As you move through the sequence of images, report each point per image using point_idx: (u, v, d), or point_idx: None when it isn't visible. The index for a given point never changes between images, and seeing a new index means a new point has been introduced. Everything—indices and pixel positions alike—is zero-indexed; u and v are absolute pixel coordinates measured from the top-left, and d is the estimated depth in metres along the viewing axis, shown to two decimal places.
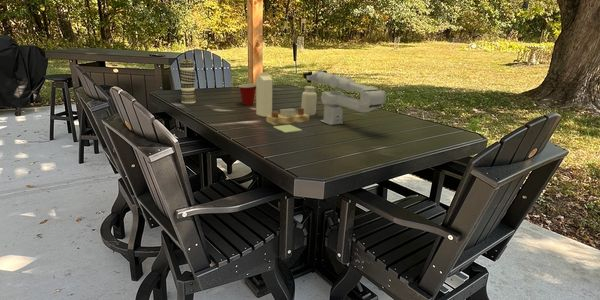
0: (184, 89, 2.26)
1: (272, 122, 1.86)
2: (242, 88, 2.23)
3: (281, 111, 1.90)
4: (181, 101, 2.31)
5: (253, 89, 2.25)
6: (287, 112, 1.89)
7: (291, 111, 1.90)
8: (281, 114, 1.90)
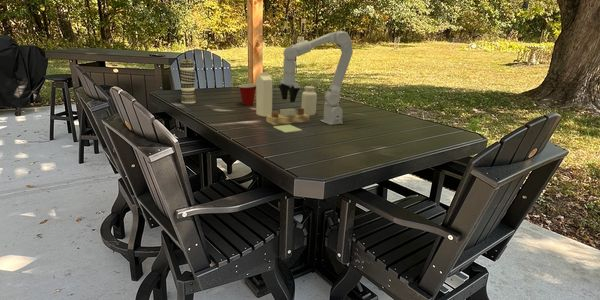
0: (184, 89, 2.26)
1: (272, 122, 1.86)
2: (242, 88, 2.23)
3: (281, 111, 1.90)
4: (181, 101, 2.31)
5: (253, 89, 2.25)
6: (287, 112, 1.89)
7: (291, 111, 1.90)
8: (281, 114, 1.90)
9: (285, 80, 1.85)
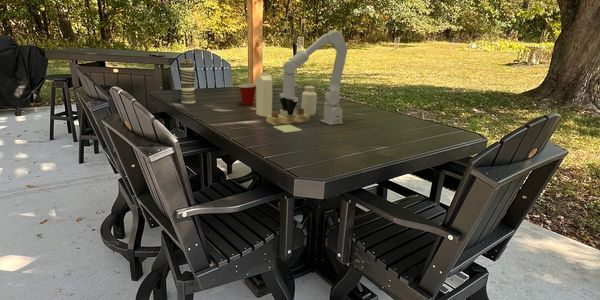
0: (184, 89, 2.26)
1: (272, 122, 1.86)
2: (242, 88, 2.23)
3: (281, 111, 1.90)
4: (181, 101, 2.31)
5: (253, 89, 2.25)
6: (287, 112, 1.89)
7: None
8: (281, 114, 1.90)
9: (285, 94, 1.86)
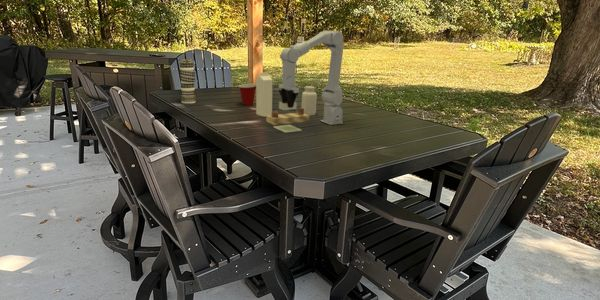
0: (184, 89, 2.26)
1: (272, 122, 1.86)
2: (242, 88, 2.23)
3: (280, 104, 1.74)
4: (181, 101, 2.31)
5: (253, 89, 2.25)
6: (287, 105, 1.73)
7: None
8: (280, 107, 1.74)
9: (284, 84, 1.70)
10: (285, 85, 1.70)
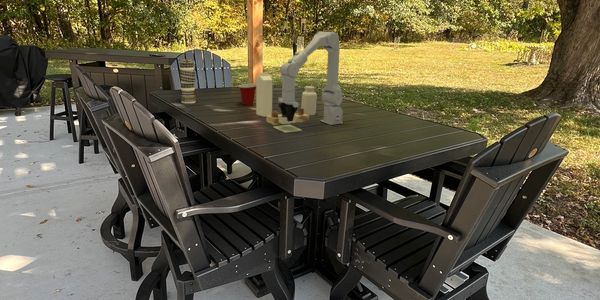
0: (184, 89, 2.26)
1: (272, 122, 1.86)
2: (242, 88, 2.23)
3: (280, 117, 1.75)
4: (181, 101, 2.31)
5: (253, 89, 2.25)
6: (286, 119, 1.74)
7: None
8: (280, 121, 1.76)
9: (284, 98, 1.72)
10: (285, 99, 1.72)
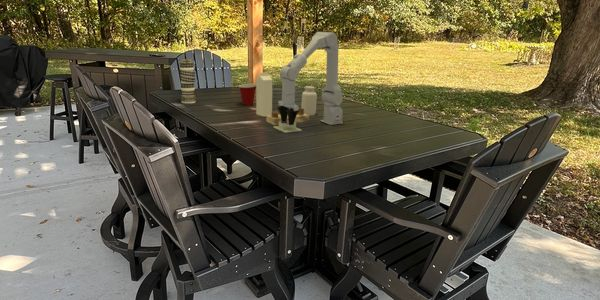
0: (184, 89, 2.26)
1: (272, 122, 1.86)
2: (242, 88, 2.23)
3: (280, 123, 1.76)
4: (181, 101, 2.31)
5: (253, 89, 2.25)
6: (286, 125, 1.75)
7: None
8: (280, 127, 1.77)
9: (284, 102, 1.72)
10: (285, 103, 1.72)
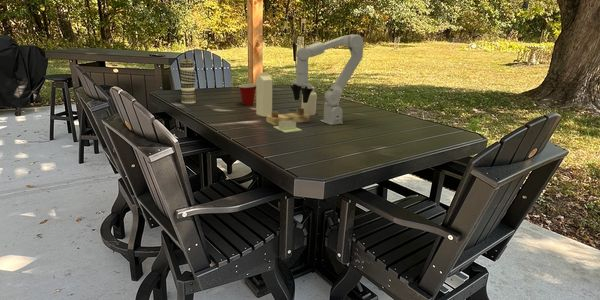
0: (184, 89, 2.26)
1: (272, 122, 1.86)
2: (242, 88, 2.23)
3: (280, 123, 1.76)
4: (181, 101, 2.31)
5: (253, 89, 2.25)
6: (286, 125, 1.75)
7: (290, 123, 1.76)
8: (280, 127, 1.77)
9: (298, 81, 1.85)
10: (299, 81, 1.84)
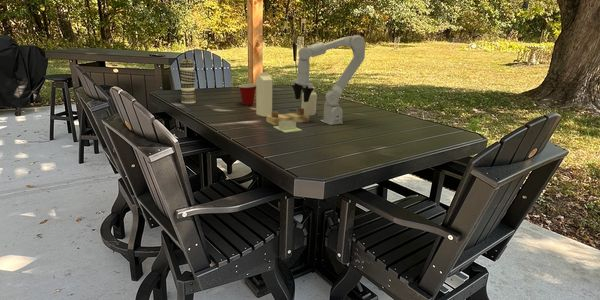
0: (184, 89, 2.26)
1: (272, 122, 1.86)
2: (242, 88, 2.23)
3: (280, 123, 1.76)
4: (181, 101, 2.31)
5: (253, 89, 2.25)
6: (286, 125, 1.75)
7: (290, 123, 1.76)
8: (280, 127, 1.77)
9: (299, 80, 1.87)
10: (300, 81, 1.86)
